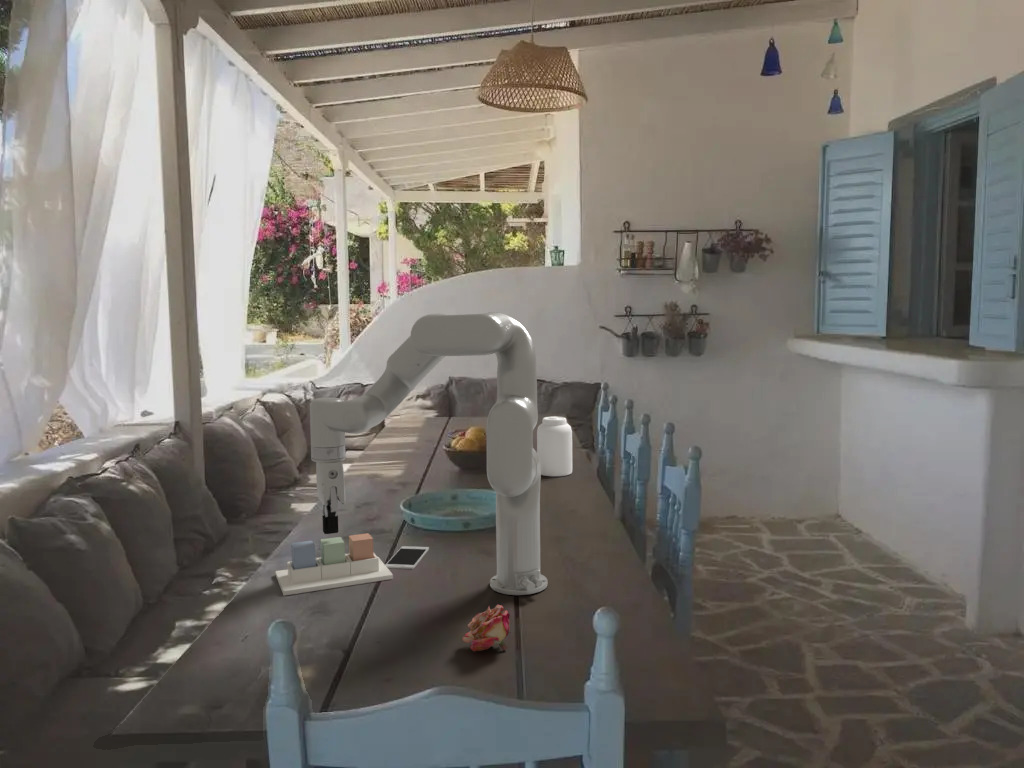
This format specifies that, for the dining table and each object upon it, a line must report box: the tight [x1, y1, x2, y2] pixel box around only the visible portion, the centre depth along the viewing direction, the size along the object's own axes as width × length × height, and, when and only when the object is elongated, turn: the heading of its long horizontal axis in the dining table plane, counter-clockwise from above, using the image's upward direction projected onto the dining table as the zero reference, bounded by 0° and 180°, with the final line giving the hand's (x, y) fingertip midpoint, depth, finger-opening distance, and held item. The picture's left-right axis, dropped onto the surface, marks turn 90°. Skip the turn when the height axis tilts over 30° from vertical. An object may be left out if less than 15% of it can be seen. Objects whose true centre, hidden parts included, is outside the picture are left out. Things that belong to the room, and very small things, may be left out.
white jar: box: [536, 415, 573, 478], centre depth 287 cm, size 12×12×20 cm
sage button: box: [319, 536, 346, 565], centre depth 184 cm, size 5×5×5 cm
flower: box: [462, 604, 512, 653], centre depth 146 cm, size 10×9×8 cm
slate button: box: [290, 540, 317, 569], centre depth 182 cm, size 5×5×5 cm
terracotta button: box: [348, 532, 374, 561], centre depth 187 cm, size 5×5×5 cm
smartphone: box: [384, 545, 430, 570], centre depth 198 cm, size 7×15×1 cm, turn 172°
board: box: [274, 551, 394, 596], centre depth 185 cm, size 14×24×4 cm, turn 113°
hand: (330, 532), depth 184 cm, fingers closed
